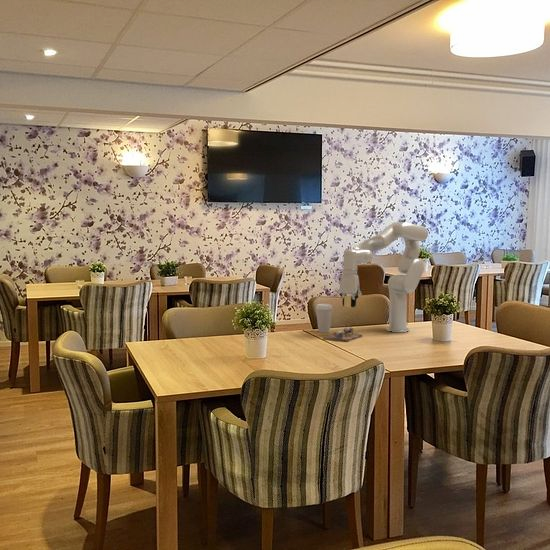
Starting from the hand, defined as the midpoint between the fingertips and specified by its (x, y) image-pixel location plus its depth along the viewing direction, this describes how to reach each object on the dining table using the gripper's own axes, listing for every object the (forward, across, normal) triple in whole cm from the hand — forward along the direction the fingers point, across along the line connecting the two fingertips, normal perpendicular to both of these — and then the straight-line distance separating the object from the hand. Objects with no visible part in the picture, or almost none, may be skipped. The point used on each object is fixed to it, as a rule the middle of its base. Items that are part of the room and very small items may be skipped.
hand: (349, 306), depth 335 cm
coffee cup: (+16, -18, +4) cm, 24 cm away
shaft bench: (+16, +1, -8) cm, 18 cm away
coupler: (0, 0, 0) cm, 0 cm away
